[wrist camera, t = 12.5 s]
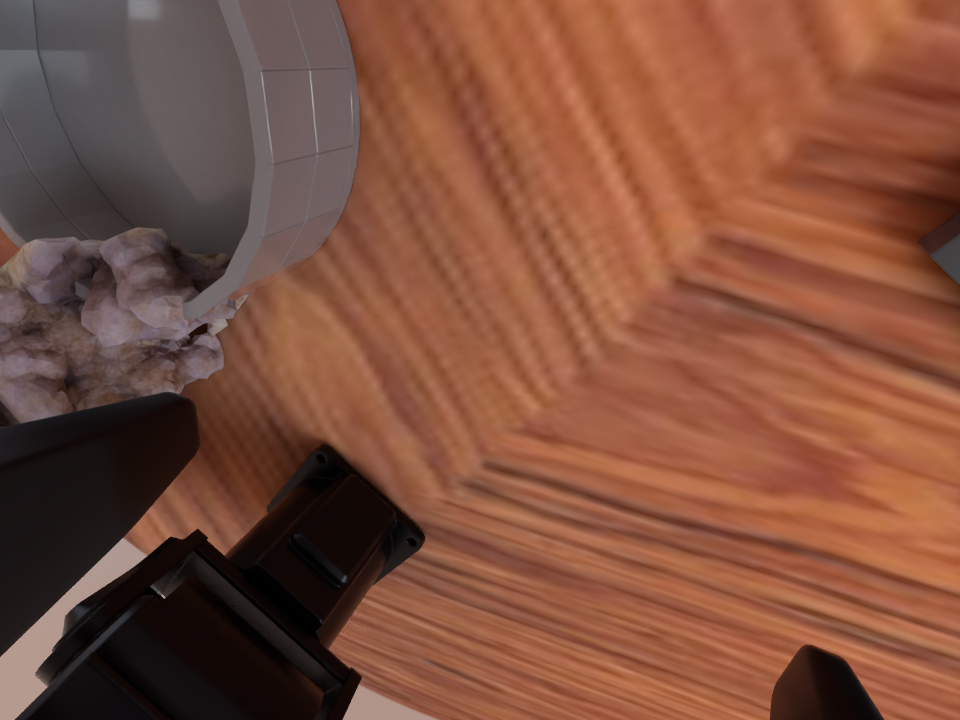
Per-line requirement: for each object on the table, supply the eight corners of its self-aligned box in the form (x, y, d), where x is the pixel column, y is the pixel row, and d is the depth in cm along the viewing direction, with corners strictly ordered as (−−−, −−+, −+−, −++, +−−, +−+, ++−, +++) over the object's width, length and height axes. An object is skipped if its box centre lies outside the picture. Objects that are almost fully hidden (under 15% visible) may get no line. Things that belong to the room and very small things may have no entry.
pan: (262, 346, 25) (180, 396, 21) (13, 116, 25) (-116, 126, 21) (440, 56, 17) (358, 55, 13) (75, -295, 17) (-116, -397, 13)
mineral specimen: (-63, 100, 18) (-200, 398, 13) (273, 206, 23) (262, 441, 18) (-33, 385, 32) (-93, 576, 27) (171, 408, 37) (150, 570, 33)
